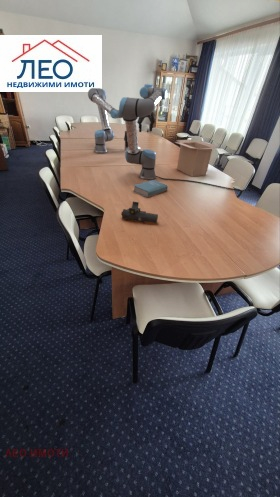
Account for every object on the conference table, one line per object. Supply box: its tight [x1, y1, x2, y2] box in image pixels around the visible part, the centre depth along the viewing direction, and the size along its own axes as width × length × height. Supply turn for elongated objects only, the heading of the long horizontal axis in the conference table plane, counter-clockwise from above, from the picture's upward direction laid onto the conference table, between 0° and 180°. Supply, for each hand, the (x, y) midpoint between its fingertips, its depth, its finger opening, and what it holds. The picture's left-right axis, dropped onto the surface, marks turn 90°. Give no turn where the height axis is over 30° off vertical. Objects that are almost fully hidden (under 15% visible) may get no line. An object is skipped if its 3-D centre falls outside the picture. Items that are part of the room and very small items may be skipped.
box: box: [174, 139, 219, 177], centre depth 219 cm, size 44×36×27 cm
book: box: [133, 179, 169, 198], centre depth 177 cm, size 23×16×5 cm
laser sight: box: [120, 201, 159, 224], centre depth 136 cm, size 10×22×10 cm, turn 78°
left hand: (129, 146), depth 259 cm, fingers closed on block, 8 cm apart
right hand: (145, 131), depth 213 cm, fingers open, 13 cm apart
